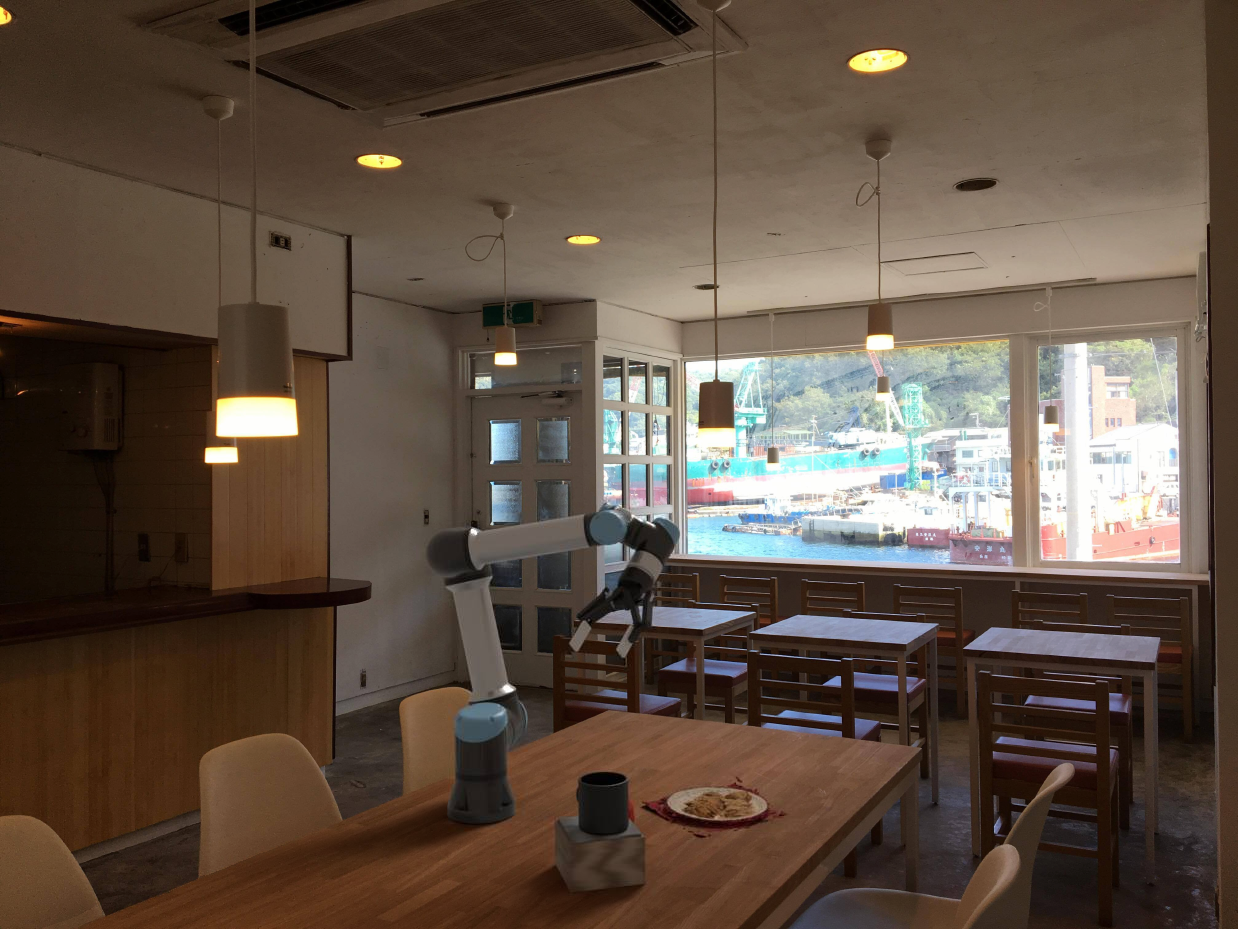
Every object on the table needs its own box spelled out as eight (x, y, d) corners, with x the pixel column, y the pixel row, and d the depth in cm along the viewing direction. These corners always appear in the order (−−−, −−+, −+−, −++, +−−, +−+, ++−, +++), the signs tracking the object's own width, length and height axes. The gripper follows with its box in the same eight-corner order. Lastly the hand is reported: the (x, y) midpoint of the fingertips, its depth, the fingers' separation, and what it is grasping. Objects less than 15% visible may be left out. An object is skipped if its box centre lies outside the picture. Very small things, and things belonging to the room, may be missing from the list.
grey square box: (570, 892, 177) (570, 842, 178) (555, 864, 191) (554, 817, 191) (645, 883, 181) (644, 834, 181) (625, 857, 195) (624, 810, 195)
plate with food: (640, 809, 226) (640, 794, 226) (735, 788, 239) (735, 773, 239) (700, 844, 205) (699, 827, 205) (801, 818, 217) (800, 802, 217)
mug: (594, 812, 194) (593, 766, 194) (639, 826, 185) (638, 778, 186) (558, 824, 187) (558, 776, 187) (603, 839, 179) (603, 789, 179)
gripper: (690, 589, 219) (649, 667, 207) (606, 583, 235) (563, 655, 223) (676, 567, 215) (632, 645, 203) (591, 562, 231) (546, 634, 219)
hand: (596, 650), depth 213 cm, fingers open, 13 cm apart
